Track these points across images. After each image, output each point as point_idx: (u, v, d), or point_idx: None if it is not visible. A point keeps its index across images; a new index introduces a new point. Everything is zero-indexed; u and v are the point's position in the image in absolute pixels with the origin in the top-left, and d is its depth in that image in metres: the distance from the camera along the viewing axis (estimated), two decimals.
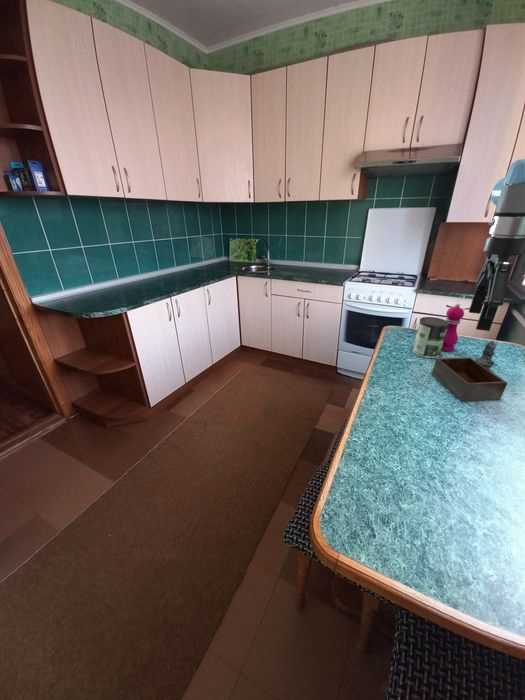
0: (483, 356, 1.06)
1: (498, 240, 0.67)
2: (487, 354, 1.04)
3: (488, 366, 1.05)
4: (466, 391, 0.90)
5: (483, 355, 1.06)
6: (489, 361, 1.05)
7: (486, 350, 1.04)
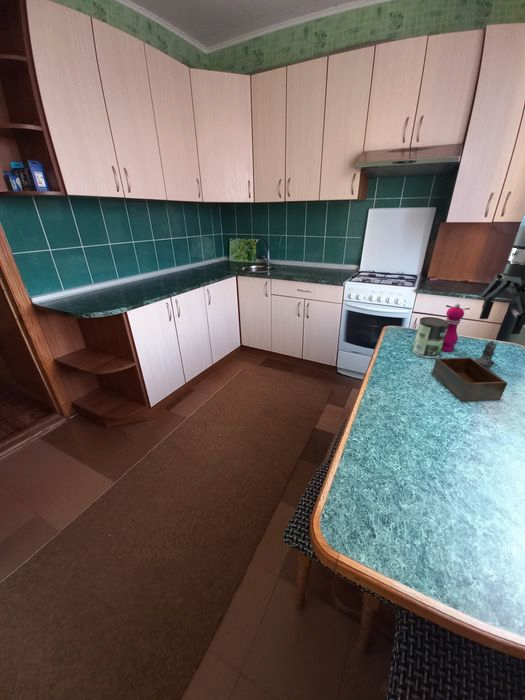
0: (483, 356, 1.06)
1: (524, 267, 0.88)
2: (487, 354, 1.04)
3: (488, 366, 1.05)
4: (466, 391, 0.90)
5: (483, 355, 1.06)
6: (489, 361, 1.05)
7: (486, 350, 1.04)
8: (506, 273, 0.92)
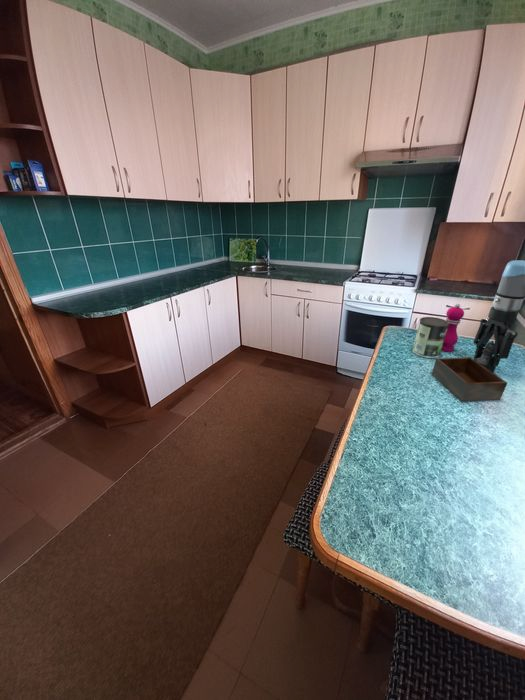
0: (483, 356, 1.06)
1: (506, 313, 0.95)
2: (487, 354, 1.04)
3: None
4: (466, 391, 0.90)
5: (483, 355, 1.06)
6: None
7: (486, 350, 1.04)
8: (490, 317, 0.99)
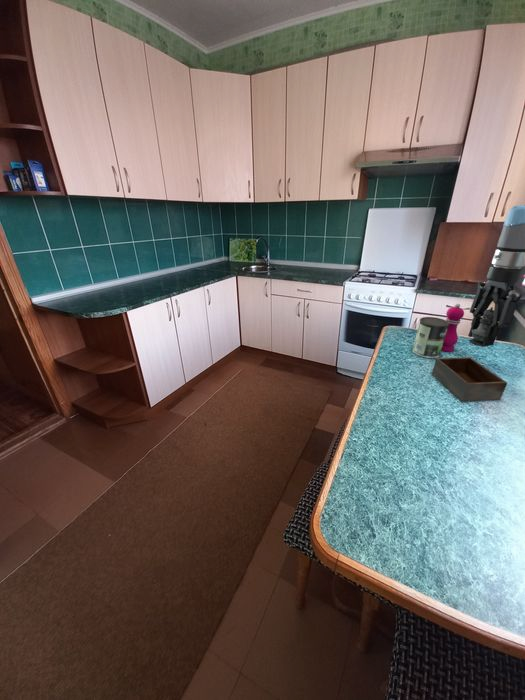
0: (481, 326, 0.90)
1: (508, 271, 0.79)
2: (485, 323, 0.88)
3: None
4: (466, 391, 0.90)
5: (481, 325, 0.90)
6: None
7: (484, 319, 0.88)
8: (489, 278, 0.83)
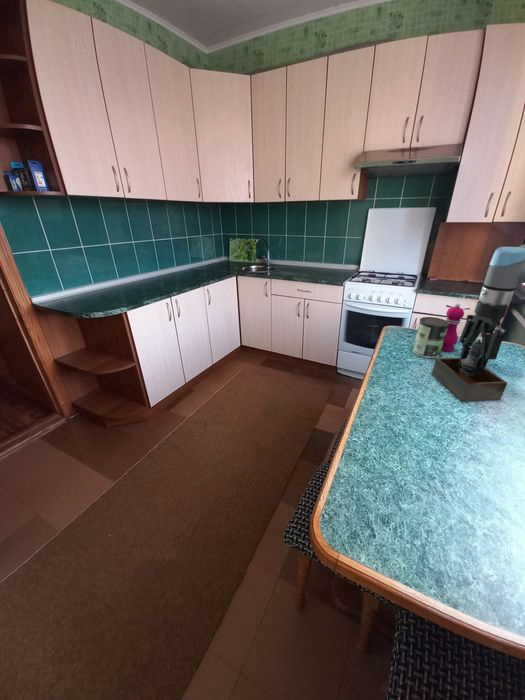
0: (469, 357, 0.94)
1: (494, 308, 0.83)
2: (474, 354, 0.92)
3: None
4: (466, 391, 0.90)
5: (469, 355, 0.94)
6: None
7: (472, 350, 0.92)
8: (477, 313, 0.87)
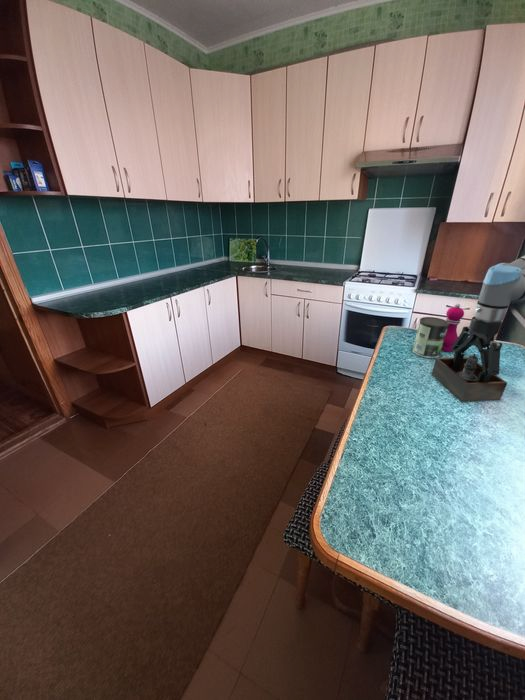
0: (464, 370, 0.96)
1: (488, 324, 0.85)
2: (469, 368, 0.95)
3: (470, 381, 0.95)
4: (466, 391, 0.90)
5: (464, 369, 0.96)
6: (471, 376, 0.95)
7: (467, 364, 0.95)
8: (471, 328, 0.89)
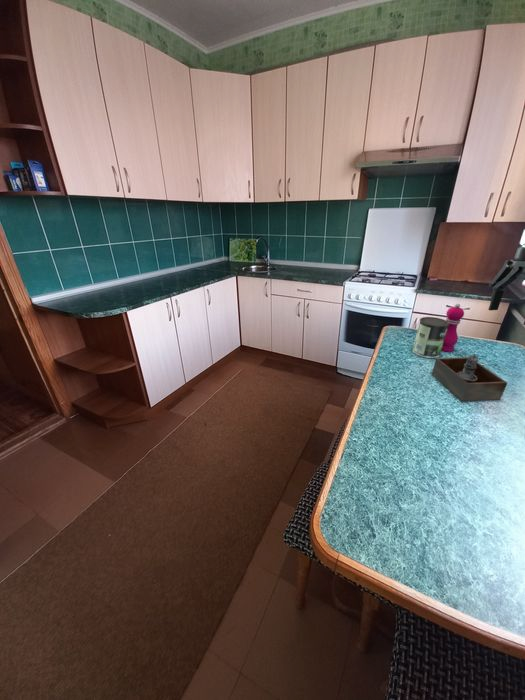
0: (464, 370, 0.96)
1: None
2: (469, 368, 0.95)
3: (470, 381, 0.95)
4: (466, 391, 0.90)
5: (464, 369, 0.96)
6: (471, 376, 0.95)
7: (467, 364, 0.95)
8: (518, 258, 0.84)
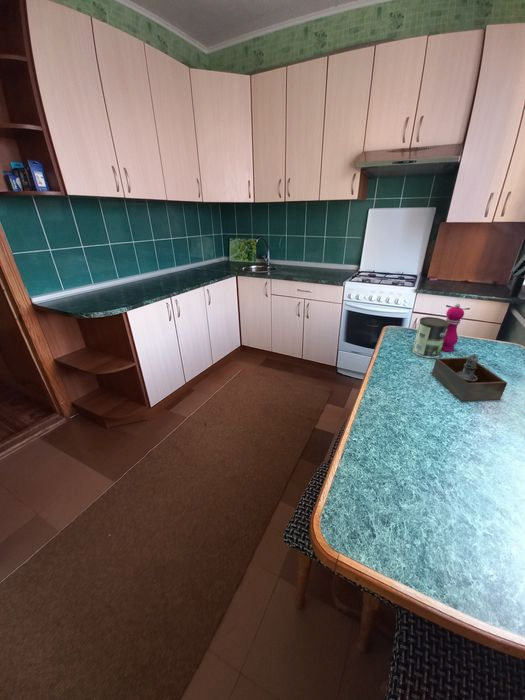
0: (464, 370, 0.96)
1: None
2: (469, 368, 0.95)
3: (470, 381, 0.95)
4: (466, 391, 0.90)
5: (464, 369, 0.96)
6: (471, 376, 0.95)
7: (467, 364, 0.95)
8: None
